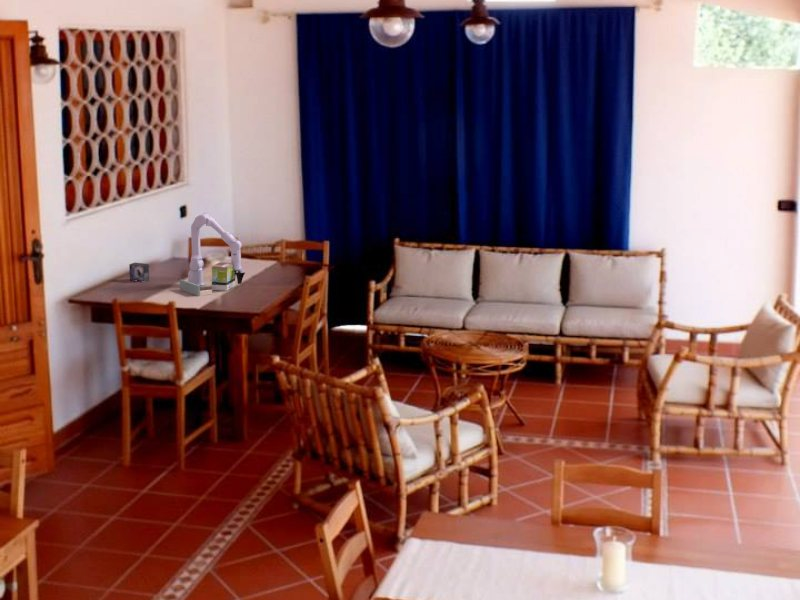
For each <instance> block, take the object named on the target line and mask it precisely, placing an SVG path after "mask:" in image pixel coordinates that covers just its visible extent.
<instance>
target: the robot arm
mask: <svg viewBox="0 0 800 600" xmlns="http://www.w3.org/2000/svg"><path fill="white" fill-rule="evenodd" d="M203 226H205V227H211V228H212V229H213V230H215V231H216V232H217V233H218V234H219V235H220V238H221V240H222V241H224V242H225V244H227V245H228V246H229V249H230V252H231V253H230V255H231V256H230V257H231V258H230V261H231V262H230V263H232V264H233V270H235V277H236V280H237V281H236V282H237V285H240V284H243V283H242V282H243V278H244V276H245V274H246V272H245V270H244V268H243V266H242V265H241V264H242V258H241V257H242V254H241V249H242V246H243V243H242V242H241V240H239V239H238V238H235V237H234V235H232V233H231V232H229V231H225V230H224V229H223V227H222V226H221V225H220V224H219V223H218V222H217V221H216V220H215V218H214V217H213V216H211V214H209V213H208V212H203V213H202V214H199V215H198V216H196V217H194V220H193V221H192V223H191V226H190V232H191V233H190V235H191V236H190V237H191V257H190V263H189V266H188V267H189V269H190V270H189V271H188V272H187V275H188V276H187V278H188V279H187V281H188V282H190V283H193V284H196V285H199V286H200V287H201V286H206V285H207V284H206V283H204V279H203V278H204V274H203V273H204V272H203V270H204V269H203V267H204V265H205V264H204V260H203V257H202V254H201V252H202V251H201V228H203Z"/></svg>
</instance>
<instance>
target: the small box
mask: <svg viewBox="0 0 800 600" xmlns="http://www.w3.org/2000/svg"><path fill="white" fill-rule="evenodd" d="M149 266H150V265H149V263H142V262H141V263H140V262H133V263H130V264H129V266H128V267H129V280H130V279H131V280H137V281H136V282H139V281H146V282H148V281H147V280H149V281H150V267H149Z"/></svg>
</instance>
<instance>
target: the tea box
mask: <svg viewBox="0 0 800 600" xmlns="http://www.w3.org/2000/svg"><path fill="white" fill-rule="evenodd" d="M235 282H236V276H235V270H233V264H232V263H231V262H223V261H221V262H220V261H219V262H217V263H215V264H213V265H212V266H211V290H212V291H225V292H227V291H228V290H230V289H232V288H233V287H235V285H236V284H235Z"/></svg>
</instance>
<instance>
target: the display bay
mask: <svg viewBox="0 0 800 600" xmlns="http://www.w3.org/2000/svg"><path fill="white" fill-rule="evenodd" d="M179 290H180V291H184V292H185V293H189V294H191V295H195V296H196V297H199V296H207V295H213V290H212V289H207V290H201V285H200V286H199V285H196V284H193V283H190V282H188V280H184V279H181V278H180V279H179Z"/></svg>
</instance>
